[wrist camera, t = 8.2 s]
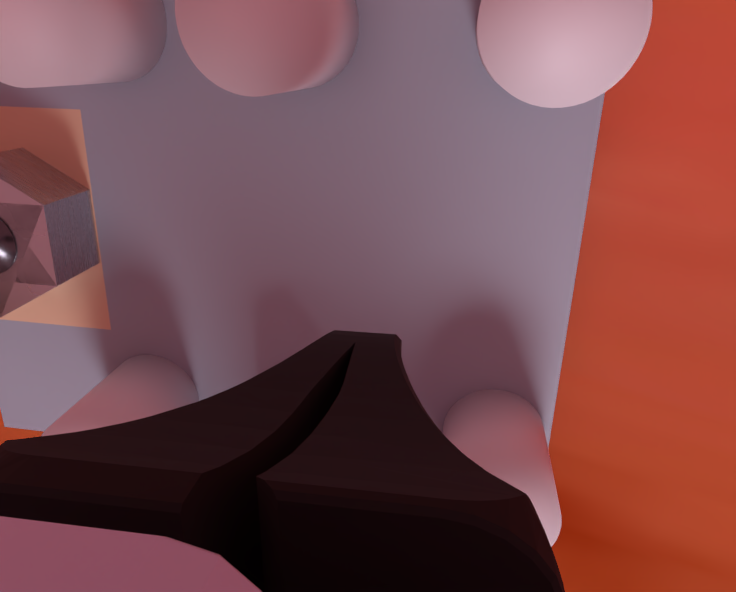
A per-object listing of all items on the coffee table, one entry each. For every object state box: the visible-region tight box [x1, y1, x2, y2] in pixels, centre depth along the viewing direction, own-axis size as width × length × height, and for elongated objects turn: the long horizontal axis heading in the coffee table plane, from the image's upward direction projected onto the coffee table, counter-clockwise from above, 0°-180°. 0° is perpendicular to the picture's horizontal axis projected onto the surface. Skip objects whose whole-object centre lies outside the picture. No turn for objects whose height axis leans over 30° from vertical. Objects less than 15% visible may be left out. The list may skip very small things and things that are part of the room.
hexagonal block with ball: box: [0, 147, 100, 317], centre depth 21 cm, size 5×5×3 cm
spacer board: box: [0, 0, 652, 547], centre depth 19 cm, size 18×23×6 cm
